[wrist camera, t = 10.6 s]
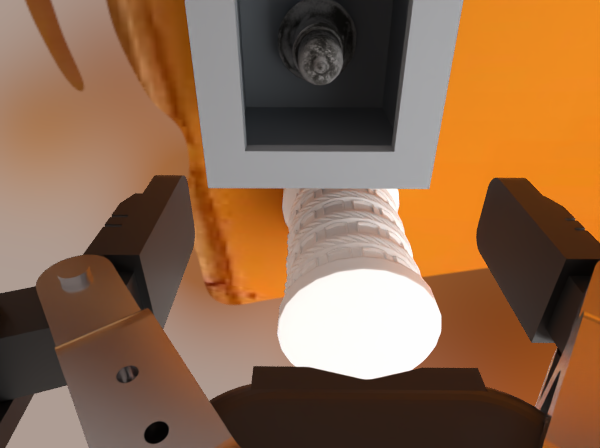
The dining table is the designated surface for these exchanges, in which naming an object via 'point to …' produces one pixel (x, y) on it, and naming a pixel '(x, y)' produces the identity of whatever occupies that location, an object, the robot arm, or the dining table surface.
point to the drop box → (322, 96)
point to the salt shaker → (317, 40)
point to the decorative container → (353, 285)
